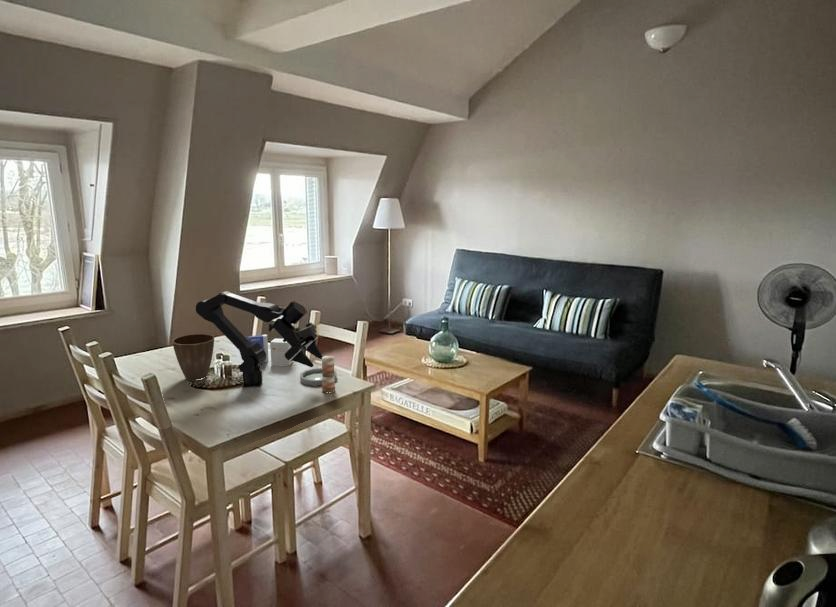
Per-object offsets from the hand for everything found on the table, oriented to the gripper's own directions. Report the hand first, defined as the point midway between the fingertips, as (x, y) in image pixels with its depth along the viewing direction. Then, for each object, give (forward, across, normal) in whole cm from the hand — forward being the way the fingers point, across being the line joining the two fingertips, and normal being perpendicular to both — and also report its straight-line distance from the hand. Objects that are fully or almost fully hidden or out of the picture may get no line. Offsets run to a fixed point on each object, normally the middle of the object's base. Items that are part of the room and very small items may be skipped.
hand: (317, 362), depth 181 cm
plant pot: (-28, +1, +44) cm, 52 cm away
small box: (-10, +24, +26) cm, 37 cm away
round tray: (+5, +10, +10) cm, 15 cm away
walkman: (-18, +24, +33) cm, 45 cm away
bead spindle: (+10, 0, +5) cm, 12 cm away
